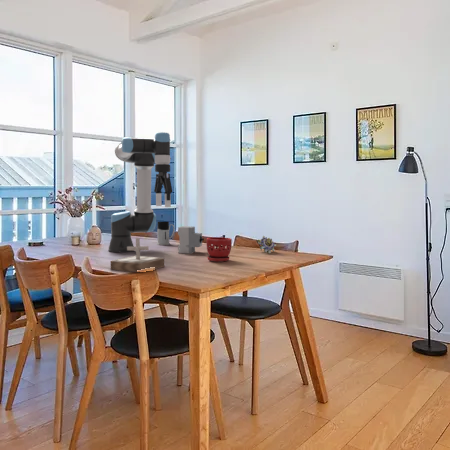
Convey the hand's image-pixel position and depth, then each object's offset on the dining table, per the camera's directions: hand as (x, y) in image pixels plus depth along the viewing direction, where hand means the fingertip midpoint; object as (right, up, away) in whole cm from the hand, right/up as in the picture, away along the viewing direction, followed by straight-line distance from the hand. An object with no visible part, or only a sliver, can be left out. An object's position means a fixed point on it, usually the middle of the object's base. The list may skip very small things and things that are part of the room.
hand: (163, 206), depth 237 cm
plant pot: (+28, -28, +10) cm, 41 cm away
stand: (-11, -30, -11) cm, 34 cm away
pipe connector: (-11, -26, -11) cm, 30 cm away
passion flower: (+55, -26, +39) cm, 72 cm away
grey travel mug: (-8, -22, +78) cm, 82 cm away
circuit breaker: (+11, -26, +40) cm, 49 cm away
